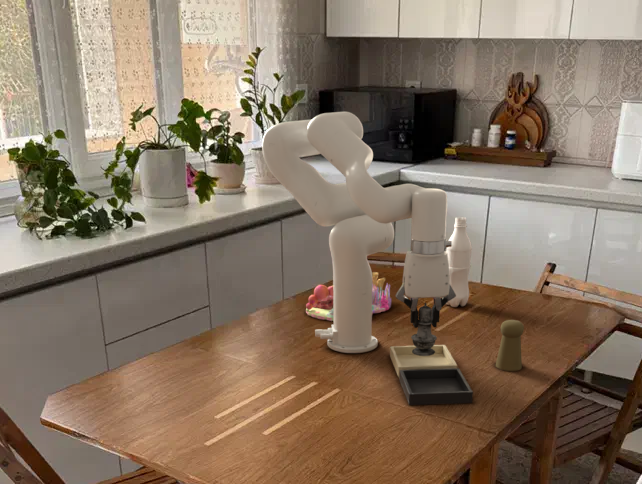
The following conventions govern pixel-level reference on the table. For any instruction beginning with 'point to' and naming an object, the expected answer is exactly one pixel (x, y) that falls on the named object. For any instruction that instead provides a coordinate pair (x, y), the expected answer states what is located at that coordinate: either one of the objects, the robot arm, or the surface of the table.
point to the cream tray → (421, 358)
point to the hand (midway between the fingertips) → (424, 324)
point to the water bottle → (459, 262)
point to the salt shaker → (424, 333)
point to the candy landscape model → (323, 299)
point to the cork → (510, 346)
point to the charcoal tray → (435, 386)
